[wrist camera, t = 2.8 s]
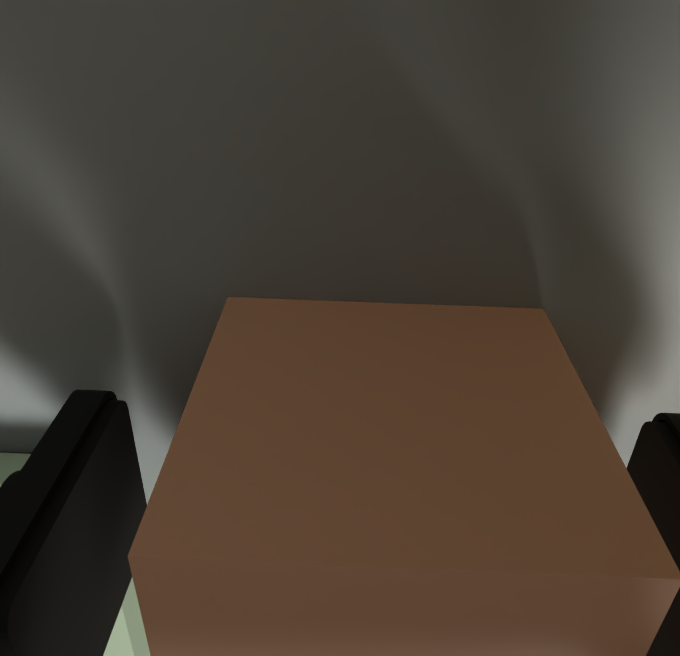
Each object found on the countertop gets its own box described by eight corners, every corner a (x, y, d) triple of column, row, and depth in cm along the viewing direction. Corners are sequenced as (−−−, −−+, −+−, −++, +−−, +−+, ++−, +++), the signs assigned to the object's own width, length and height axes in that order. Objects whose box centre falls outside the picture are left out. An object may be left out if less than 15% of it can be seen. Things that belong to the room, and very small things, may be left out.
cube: (228, 294, 10) (127, 555, 6) (542, 306, 10) (683, 579, 6) (245, 512, 12) (184, 805, 8) (493, 522, 12) (563, 822, 8)
